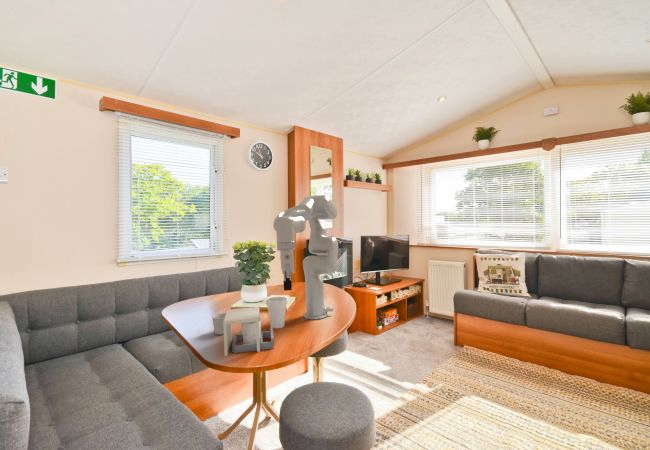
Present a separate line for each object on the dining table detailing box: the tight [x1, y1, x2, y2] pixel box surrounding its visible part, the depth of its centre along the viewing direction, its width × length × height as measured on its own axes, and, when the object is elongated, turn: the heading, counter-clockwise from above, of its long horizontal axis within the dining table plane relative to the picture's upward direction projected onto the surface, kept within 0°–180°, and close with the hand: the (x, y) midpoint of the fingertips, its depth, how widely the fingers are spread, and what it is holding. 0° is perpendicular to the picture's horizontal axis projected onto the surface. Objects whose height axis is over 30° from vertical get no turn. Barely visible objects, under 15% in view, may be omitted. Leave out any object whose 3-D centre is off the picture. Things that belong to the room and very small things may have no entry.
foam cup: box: [266, 296, 288, 329], centre depth 145 cm, size 10×9×13 cm
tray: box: [231, 326, 275, 354], centre depth 125 cm, size 16×13×4 cm
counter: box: [223, 306, 261, 357], centre depth 124 cm, size 13×16×13 cm
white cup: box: [240, 318, 262, 345], centre depth 125 cm, size 8×8×10 cm
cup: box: [212, 312, 227, 336], centre depth 140 cm, size 11×8×8 cm
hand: (287, 289), depth 127 cm, fingers closed
